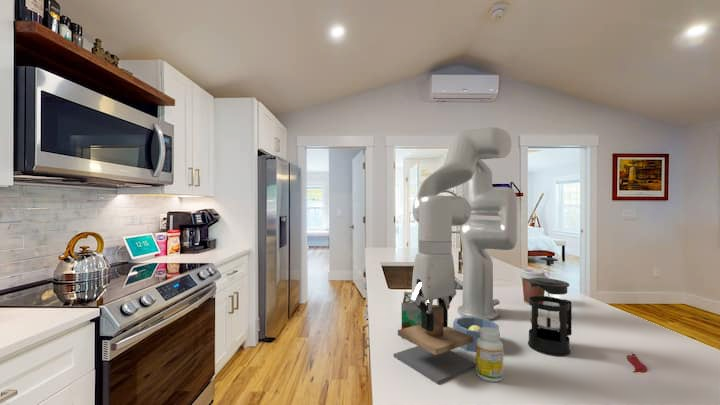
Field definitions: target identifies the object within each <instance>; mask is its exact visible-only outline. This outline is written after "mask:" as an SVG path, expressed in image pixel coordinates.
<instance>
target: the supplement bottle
mask: <svg viewBox="0 0 720 405" xmlns="http://www.w3.org/2000/svg"><path fill="white" fill-rule="evenodd" d="M500 339H501V332H500V330H499V331H498V330H497V329H494V328H490V327H482V328H480V337H479V338H478V339H477V341H476V352H475V355H476V356H475V363H476V368H475V370H476V375H477V376H478V377H479V378H480V379H482V380H484V381H487V382H491V383H498V382H500V381H502V380H503V379H504V344H503V342H502V341H501V340H500Z"/></svg>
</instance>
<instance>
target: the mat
mask: <svg viewBox="0 0 720 405" xmlns="http://www.w3.org/2000/svg"><path fill="white" fill-rule="evenodd" d="M393 357H394V358H396V359H397V360H399V361H400V362H402V363H404V364H405V365H407V366H408V367H409V368H411V369H412V370H415V371H416V372H417V373H420V374H421V375H423V376H424V377H425V378H427V379H429V380H430V381H432V382H434V383H435V384H437V385H439V384H442V383H443V382H444V383H445V382H446V381H449V380H450V379H453V378H455V377H458V376H459V375H462V374H464V373H467V372H469V371H471V370H474V369H476V361H474V360H471V359H470V358H468V357H465V356H463V355H461V354H458V353H457V352H454V351H453V350H449V351H446V352H444V353H441V354H438V355H434V354H432V353H431V352H429V351H427V350H425V349H423V348H421V347H419V346H417V345H416V346H413V347H411V348H407V349H404V350H401V351H398V352H395V353H393Z"/></svg>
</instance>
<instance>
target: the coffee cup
mask: <svg viewBox="0 0 720 405" xmlns="http://www.w3.org/2000/svg"><path fill="white" fill-rule="evenodd" d="M519 277H520V278H521V280H522V281H521V282H522V293H523V303H524V304H525V305H529V297H532V296H545V292H546V291H545V290H544V289H542V288H541V287H540V286H536V287H531V283H530V282H529V279H531V278H548V275H546V274H545V271H543V270H539V269H527V268H526V269H524V270H523V271H522V273H521V274H520V275H519ZM538 303H539V304H544V303H545V301H538ZM544 305H545V304H544ZM529 306H530V305H529Z"/></svg>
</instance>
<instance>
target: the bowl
mask: <svg viewBox="0 0 720 405" xmlns="http://www.w3.org/2000/svg"><path fill="white" fill-rule="evenodd" d="M482 327H490V328H494V329H497V330H498V331H499V332H500V330H499V328H500V327H499V324H498V323H496V322H494V321H493V320H487V319H484V318H478V317H465V316H460V317H457V318H455V319H454V320H453V323H452V328H453V329H455V330H457V331H460V332H462V333H465V334H467V335H470V336H472V337H473V342H472V343H469V344H466V345H463V346H461V347H460V348H461V349H463V350H466V351H469V352H473V353H476V341H477V339H478V338H479V337H480V328H482Z"/></svg>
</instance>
